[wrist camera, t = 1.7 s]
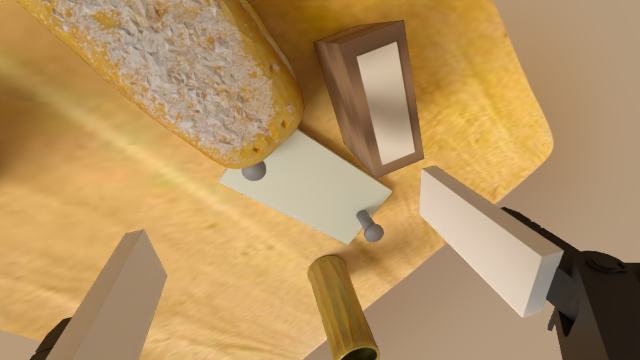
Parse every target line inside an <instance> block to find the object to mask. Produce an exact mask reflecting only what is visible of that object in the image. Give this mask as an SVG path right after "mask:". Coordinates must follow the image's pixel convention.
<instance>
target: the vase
mask: <svg viewBox="0 0 640 360" xmlns="http://www.w3.org/2000/svg"><path fill="white" fill-rule="evenodd" d="M308 278H309V281H310V283H311V285H312V288H313V292H314V295H315V298H316V302H317V306H318V309H319V312H320V315H321V318H322V322H323V326H324V329H325V332H326V335H327V339H328V343H329V346H330V349H331V353H332V356H333V360H379V358H380V352H379V349H378V347H377V345H376V343H375V340H374V338H373V335H372V332H371V330H370V327H369V325H368V323H367V320H366V318H365V316H364V313H363V311H362V308H361V306H360V303H359V300H358V298H357V295H356V293H355V290H354V287H353V284H352V282H351V279H350V276H349V274H348V271H347V268H346V264H345V262H344V260H343V259H341V258H340V257H337V256H324V257H322V258H319V259H317V260H316V261H315V262H314V263H313V264H312V265H311V266H310V268H309V270H308Z"/></svg>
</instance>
